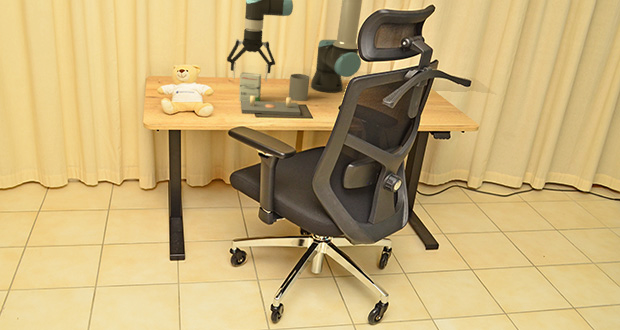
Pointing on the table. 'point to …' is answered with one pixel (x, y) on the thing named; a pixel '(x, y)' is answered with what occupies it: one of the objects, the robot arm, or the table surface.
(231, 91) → the table surface
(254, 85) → the ink box
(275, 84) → the table surface
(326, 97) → the table surface
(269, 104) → the board
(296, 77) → the cup
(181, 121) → the table surface
